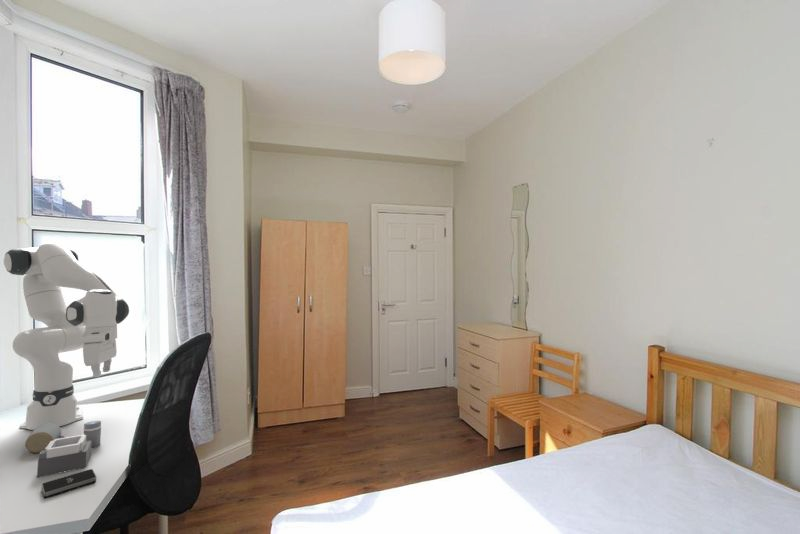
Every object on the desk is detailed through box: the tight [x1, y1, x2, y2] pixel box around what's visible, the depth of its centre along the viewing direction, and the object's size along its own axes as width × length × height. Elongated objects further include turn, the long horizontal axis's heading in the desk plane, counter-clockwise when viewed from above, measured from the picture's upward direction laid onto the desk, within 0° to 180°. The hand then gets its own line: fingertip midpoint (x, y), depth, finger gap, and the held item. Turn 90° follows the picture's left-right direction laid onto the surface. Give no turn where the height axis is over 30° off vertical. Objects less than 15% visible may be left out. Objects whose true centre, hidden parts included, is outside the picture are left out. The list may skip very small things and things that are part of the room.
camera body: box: [36, 433, 92, 478], centre depth 115 cm, size 9×11×8 cm
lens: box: [83, 420, 102, 450], centre depth 129 cm, size 5×5×8 cm
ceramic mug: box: [24, 423, 66, 454], centre depth 127 cm, size 11×8×8 cm
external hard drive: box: [41, 468, 97, 499], centre depth 104 cm, size 7×11×2 cm, turn 138°
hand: (101, 374), depth 129 cm, fingers open, 8 cm apart
